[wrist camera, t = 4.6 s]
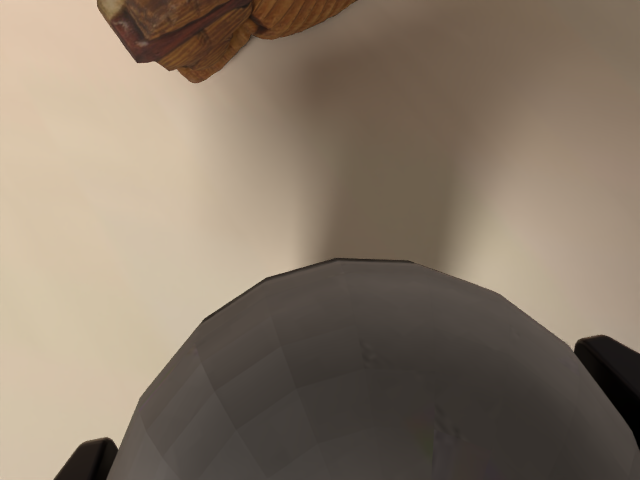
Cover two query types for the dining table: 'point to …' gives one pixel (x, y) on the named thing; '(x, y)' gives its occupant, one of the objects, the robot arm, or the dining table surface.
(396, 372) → the beverage cup
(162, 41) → the wooden carving
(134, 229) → the dining table surface
